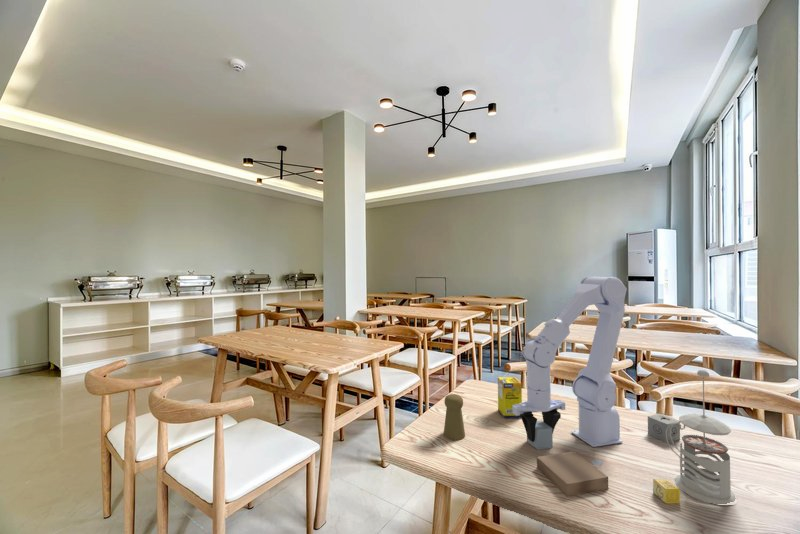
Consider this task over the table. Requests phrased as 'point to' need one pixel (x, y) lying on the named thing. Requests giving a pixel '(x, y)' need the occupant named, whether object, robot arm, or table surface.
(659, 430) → the dice cube
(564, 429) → the table surface
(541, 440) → the slate block
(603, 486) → the walnut block
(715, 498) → the french press
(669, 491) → the alphabet block
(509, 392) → the supplement box
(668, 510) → the table surface
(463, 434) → the olive pawn
